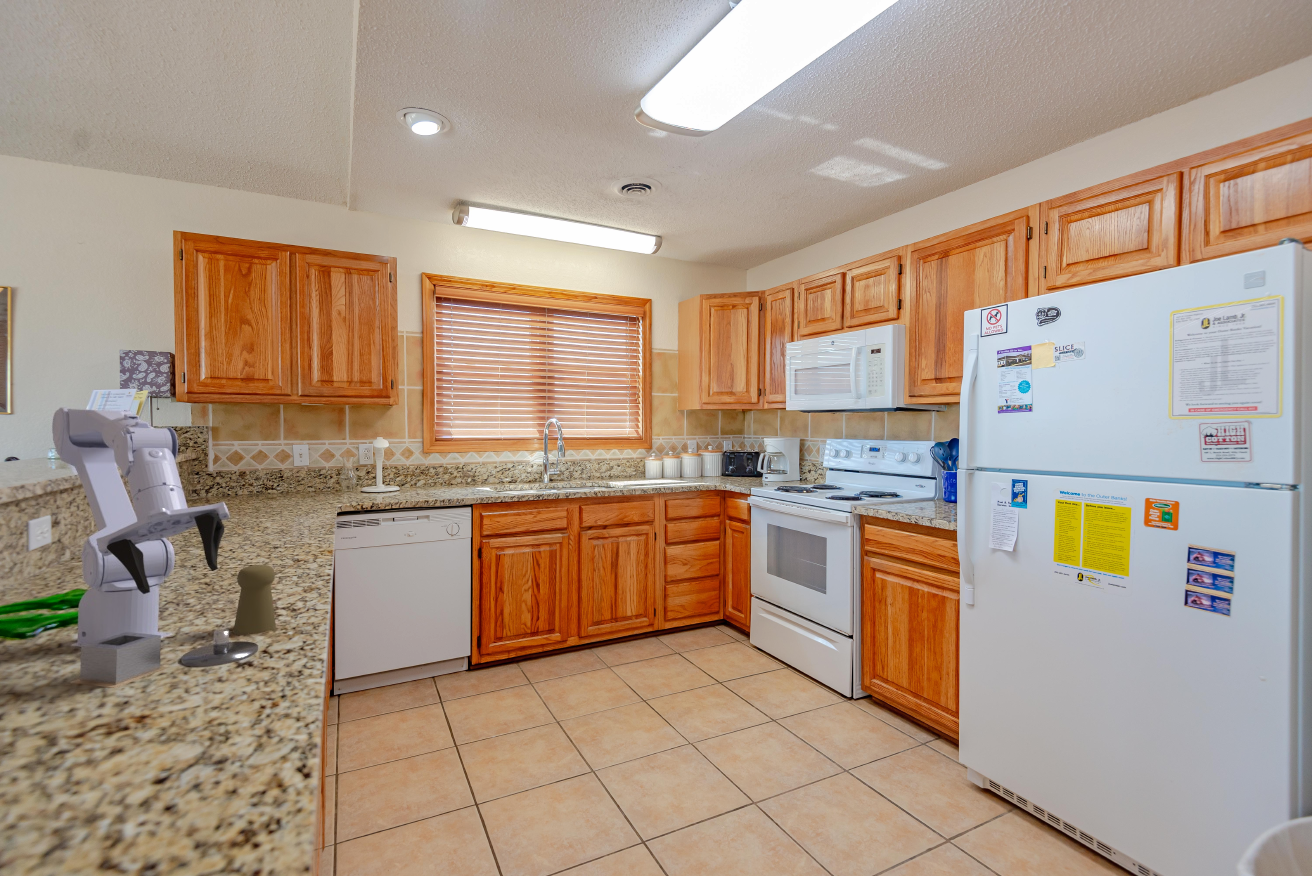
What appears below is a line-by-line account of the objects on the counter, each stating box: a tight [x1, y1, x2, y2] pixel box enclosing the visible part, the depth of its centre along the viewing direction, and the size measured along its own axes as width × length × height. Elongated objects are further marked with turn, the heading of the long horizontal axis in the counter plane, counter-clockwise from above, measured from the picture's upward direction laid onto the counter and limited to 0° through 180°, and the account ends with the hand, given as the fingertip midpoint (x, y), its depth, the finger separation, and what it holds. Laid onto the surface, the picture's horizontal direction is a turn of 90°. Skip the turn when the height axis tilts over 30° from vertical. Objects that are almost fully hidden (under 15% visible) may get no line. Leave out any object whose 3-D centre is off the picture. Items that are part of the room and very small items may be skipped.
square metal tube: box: [79, 632, 162, 685], centre depth 79 cm, size 6×6×4 cm
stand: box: [69, 665, 170, 689], centre depth 79 cm, size 7×7×4 cm
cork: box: [232, 564, 277, 636], centre depth 98 cm, size 6×6×11 cm
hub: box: [180, 628, 259, 668], centre depth 86 cm, size 9×9×4 cm
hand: (179, 578), depth 81 cm, fingers open, 7 cm apart
